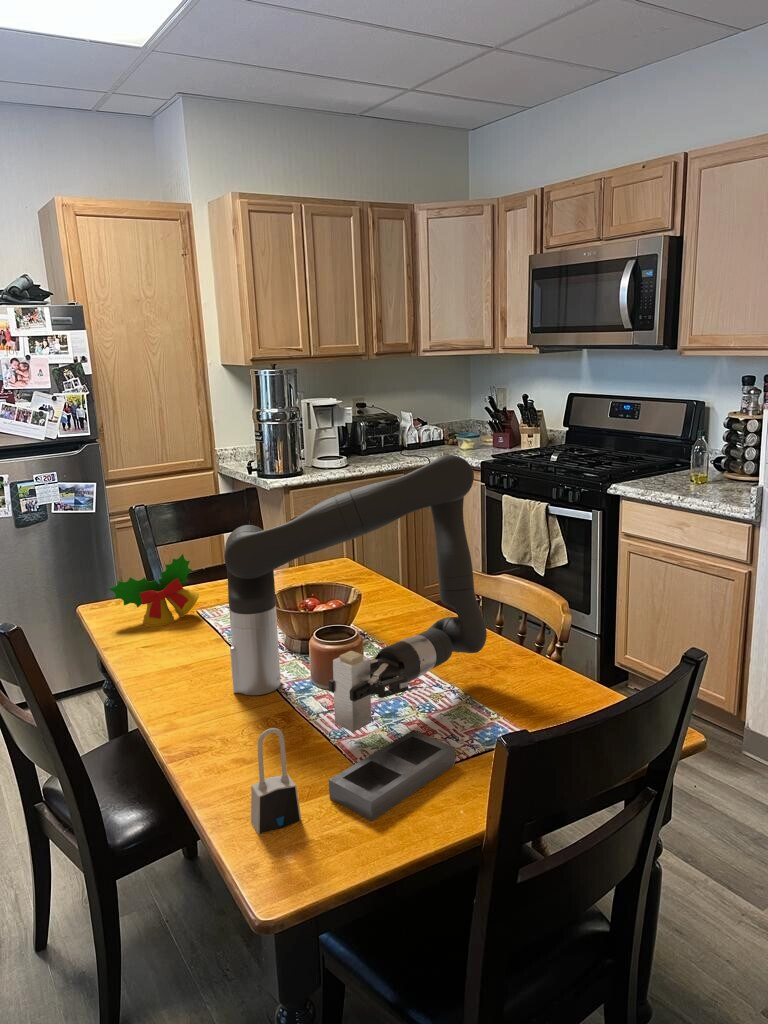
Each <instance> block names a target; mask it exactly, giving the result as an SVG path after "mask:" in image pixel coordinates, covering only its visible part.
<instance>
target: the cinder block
mask: <svg viewBox="0 0 768 1024" xmlns="http://www.w3.org/2000/svg"><path fill="white" fill-rule="evenodd" d="M453 765H454V766H455V765H456V747H455V746H454V745H450V744H448V743H446V742H443V741H442V740H439V739H436V738H434V737H432V736H429V735H427V734H424V733H422V732H419V731H417V730H415V729H412V730H411V731H409V732H407V733H405V734H404V735H402V736H401V737H398V738H397V739H395V740H393V741H392V742H390V743H388V744H386V745H385V746H383V747H382V748H380V749H378V750H377V751H375V752H372V753H371V754H370V755H368V756H367V757H365V758H363V759H362V760H359V761H358V762H355V764H353V765H351V766H349V767H348V768H346V769H344V770H343V771H341V772H340V773H338V774H336V775H334V776H332V777H331V778H329V779H328V792H329V799H331V801H334V802H336V803H338V804H339V805H341V806H343V807H345V808H347V809H349V810H351V811H352V812H354V813H356V814H357V815H359V816H362V817H363V818H365V819H367V820H369V821H370V822H373V821H374V820H376V819H377V818H379V817H380V816H382V815H383V814H385V813H386V812H388V811H389V810H391V809H392V808H394V807H395V806H397V805H398V804H400V803H401V802H403V801H404V800H405V799H407V798H408V797H410V796H412V795H413V794H414V793H416V792H417V791H419V790H420V789H421V788H423V787H425V786H426V785H427V784H428V783H431V782H432V781H433V780H435V779H436V778H438V777H439V776H440V775H443V774H444V773H445V772H447V771H449V770H450V769H451V768H452V766H453ZM454 766H453V767H454ZM446 770H447V771H446Z"/></svg>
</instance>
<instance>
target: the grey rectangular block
mask: <svg viewBox="0 0 768 1024" xmlns="http://www.w3.org/2000/svg"><path fill="white" fill-rule="evenodd" d="M370 660H371V659H370V658H368V657H366V656H364V655H363V654H361V653H359V652H357V651H354V650H349V651H346V652H344V653H342V654H339V657H337V658H334V659H332V674H333V678H332V679H333V681H334V693H333V706H334V707H333V708H334V724H335V725H337V726H339V727H340V728H343V729H345V730H346V731H349V732H352V733H354V732H356V731H358V730H360V729H362V728H364V727H365V726H367V725H371V723H372V699H371V698H372V696H369V695H368V696H366V697H364V698H362V699H360V700H357V701H355V702H353V701H351V700H350V689H351V688H354V687H356V686H358V685H360V684H362V683H364V682H366V683H368V681H369V680H370Z"/></svg>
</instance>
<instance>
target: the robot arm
mask: <svg viewBox="0 0 768 1024" xmlns="http://www.w3.org/2000/svg"><path fill="white" fill-rule="evenodd" d="M474 481H475V475H474V469H473V467H472V465H471V464H470V463H469V462H468V461H467V460H466V459H465V458H463V457H461V456H458V455H453V454H446V455H441V456H440V457H437V458H435V459H433V461H431V462H430V463H427V464H426V465H423V466H421V467H419V468H417V469H415V470H412V471H411V472H409V473H406V474H404V475H402V476H398V477H395V478H392V479H386V480H384V481H378V482H375V483H370V484H367V485H364V486H360V487H357V488H354V489H350V490H349V491H348V490H347V491H345V492H342V493H339V494H337V495H334V496H332V497H329V498H327V499H325V500H322V501H321V502H319V503H317V504H315V505H314V506H312V507H311V508H309V509H308V510H306V511H304V512H303V513H302V514H300V515H298V516H297V517H295V518H293V519H292V520H290V521H287V522H285V523H282V524H280V525H277V526H274V527H271V528H266V529H263V528H261V527H259V526H257V525H252V524H245V525H244V524H243V525H241V526H239V527H237V528H235V529H234V530H233V531H231V532H230V534H229V536H228V537H227V539H226V542H225V545H224V546H225V547H224V553H223V555H224V558H223V559H224V564H225V566H226V573H227V592H228V593H227V598H228V609H229V622H230V633H231V635H230V636H231V646H230V649H229V650H230V661H231V662H230V664H231V679H232V686H233V687H232V688H233V689H232V690H233V693H234V694H235V693H237V694H242V695H244V696H245V695H247V696H259V695H261V696H262V695H266V694H270V693H272V692H274V691H276V690H277V689H279V687H280V686H281V684H282V683H281V669H280V667H281V666H280V653H279V652H280V651H279V649H280V648H279V635H278V620H277V619H278V618H277V605H276V601H277V600H276V585H275V572H274V571H275V570H276V569H277V568H280V567H282V566H285V565H286V564H288V563H290V562H292V561H294V560H296V559H299V558H301V557H304V556H306V555H310V554H313V553H316V552H320V551H322V550H326V549H328V548H330V547H334V546H337V545H339V544H342V543H346V542H348V541H351V540H354V539H356V538H359V537H362V536H364V535H368V534H369V533H372V532H375V531H376V530H379V529H381V528H383V527H386V526H387V525H389V524H391V523H393V522H396V521H398V520H399V519H401V518H403V517H404V516H407V515H409V514H411V513H414V512H416V511H419V510H422V509H423V510H424V509H426V508H429V507H430V511H431V514H432V515H431V516H432V520H433V521H432V522H433V527H434V536H435V547H436V564H437V576H438V577H437V578H438V580H437V581H438V588H439V589H438V590H439V598H440V599H439V600H440V602H441V603H442V604H443V605H444V606H448V607H449V608H452V609H454V610H455V613H456V615H457V616H448V617H443V618H440V619H438V620H437V621H436V622H435V623H433V624H432V625H431V626H430V627H428V629H427V630H424V631H423V632H421V633H419V634H416V635H414V636H409V637H405V638H403V639H401V640H399V641H396V642H395V643H392V644H389V645H387V646H386V647H383V648H382V649H380V650H379V651H378V653H377V654H376V656H375V657H374V658H373V659H370V680H369V681H368V683H366V682H364V683H362V684H360V685H358V686H356V687H354V688H351V689H350V700H351V701H353V702H355V701H357V700H360V699H362V698H364V697H366V696H368V695H369V696H371V697H374V696H375V695H377V697H378V698H380V699H384V698H386V697H391V696H395V695H398V694H400V693H405V692H408V691H409V683H410V682H412V681H415V680H416V679H418V678H421V677H422V676H424V675H425V674H427V673H428V672H429V671H431V670H433V669H435V668H437V667H438V666H441V665H442V664H444V663H446V662H447V661H448V660H449V659H450V658H451V656H452V654H453V653H463V654H465V653H466V654H477V653H479V652H480V651H482V649H484V647H485V645H486V642H487V636H488V633H487V625H486V622H485V619H484V617H483V614H482V612H481V608H480V605H479V602H478V599H477V597H476V594H475V593H476V591H475V582H474V581H475V580H474V571H473V564H472V556H471V550H470V548H469V544H468V540H467V539H468V538H467V534H466V528H465V521H464V519H465V518H464V517H465V516H464V504H465V503H464V502H465V501H464V499H465V496H466V495H467V494H468V493H469V492H470V490H472V489H471V488H472V486H473V484H474ZM328 681H329V682H328V691H329V692H330V693H333V694H334V681H333V678H331V679H329V680H328ZM385 688H388V689H387V690H385Z"/></svg>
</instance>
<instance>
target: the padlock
mask: <svg viewBox="0 0 768 1024" xmlns="http://www.w3.org/2000/svg"><path fill="white" fill-rule="evenodd" d="M270 734H276V735H277V736H278V741H279V749H280V762H281V763H280V764H281V773H282V774H281V775H276V776H270V777H267V778H265V769H264V767H265V766H264V752H263V751H264V750H263V748H264V747H263V745H264V739H265V738H266V737H267V736H268V735H270ZM285 744H286V743H285V737H284V733H283V731H281V729H279V728H276V727H270V728H268V729H266V730H264V731H263V732H262V733H261V734H260V735H259V736H258V740H257V759H258V760H257V761H258V774H259V781H258V782H256V783H253V784H252V785H251V794H250V796H251V798H250V801H251V803H250V805H251V806H250V808H251V809H250V810H251V811H250V813H251V814H250V816H251V817H250V823H251V824H252V826H253V828H254V829H255V831H256V833H257V835H259V834H264V833H268V832H273V831H278V830H281V829H284V828H286V827H289V826H291V825H293V824H296V823H299V822H300V821H302V816H301V809H300V808H301V807H300V801H299V800H300V799H299V793H298V787H297V785H296V784H295V781H293V779H292V778H291V777H290V775H289V774H288V773H287V772H288V771H287V758H286V757H287V756H286V754H287V753H286V745H285Z"/></svg>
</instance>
